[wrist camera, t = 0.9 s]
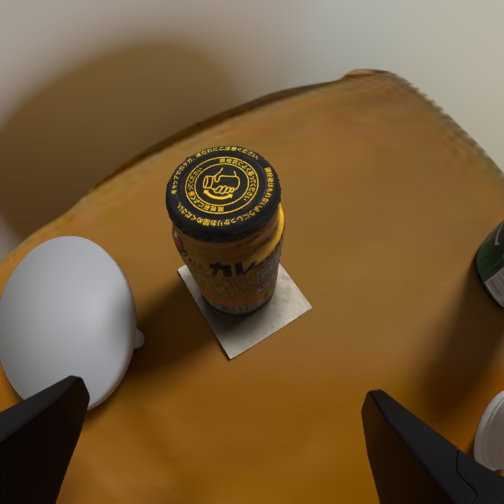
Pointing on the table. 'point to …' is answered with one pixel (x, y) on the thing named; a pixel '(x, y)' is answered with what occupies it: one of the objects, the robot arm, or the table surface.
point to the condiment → (233, 244)
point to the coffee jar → (493, 264)
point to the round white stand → (67, 319)
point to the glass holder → (491, 435)
